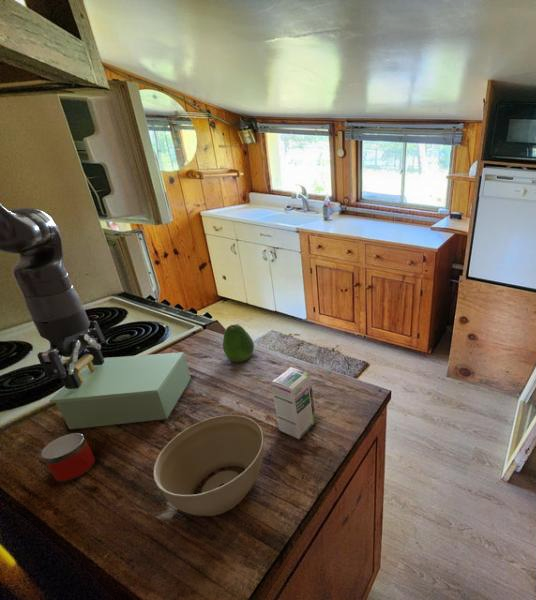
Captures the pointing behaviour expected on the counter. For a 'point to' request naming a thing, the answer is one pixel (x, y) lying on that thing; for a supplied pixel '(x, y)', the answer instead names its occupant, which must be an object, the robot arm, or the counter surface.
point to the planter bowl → (210, 464)
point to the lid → (120, 376)
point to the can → (68, 457)
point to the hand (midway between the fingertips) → (87, 375)
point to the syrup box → (294, 402)
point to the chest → (128, 404)
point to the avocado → (237, 343)
